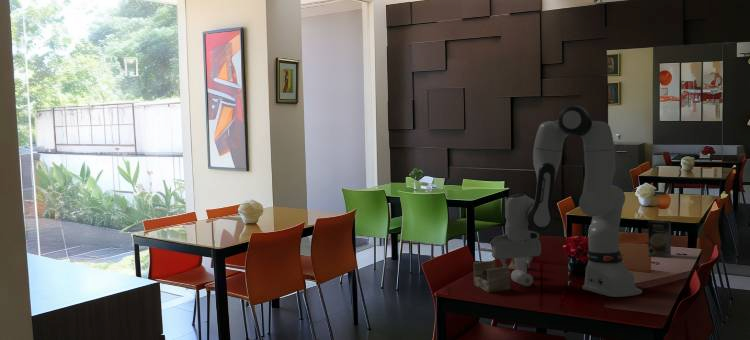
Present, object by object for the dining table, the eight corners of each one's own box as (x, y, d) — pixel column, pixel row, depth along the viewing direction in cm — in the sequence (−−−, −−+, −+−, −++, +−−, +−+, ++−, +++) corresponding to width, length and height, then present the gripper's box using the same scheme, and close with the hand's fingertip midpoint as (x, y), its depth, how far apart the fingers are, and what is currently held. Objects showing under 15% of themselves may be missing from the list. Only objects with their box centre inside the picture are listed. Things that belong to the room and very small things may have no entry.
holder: (510, 290, 255) (509, 267, 254) (488, 292, 252) (488, 269, 252) (494, 282, 268) (493, 260, 268) (473, 284, 266) (473, 262, 265)
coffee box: (647, 256, 303) (647, 222, 302) (650, 253, 309) (649, 219, 307) (669, 257, 298) (668, 222, 297) (671, 255, 304) (671, 220, 302)
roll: (529, 288, 260) (535, 277, 260) (519, 283, 258) (525, 272, 259) (518, 283, 269) (523, 272, 269) (508, 278, 267) (514, 267, 268)
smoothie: (529, 278, 272) (528, 244, 271) (513, 278, 273) (512, 245, 272) (529, 274, 278) (528, 242, 277) (513, 274, 280) (512, 242, 279)
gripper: (495, 237, 257) (495, 272, 258) (542, 233, 262) (542, 267, 263) (489, 234, 263) (489, 268, 264) (535, 231, 268) (535, 264, 269)
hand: (516, 268), depth 264 cm, fingers open, 8 cm apart
